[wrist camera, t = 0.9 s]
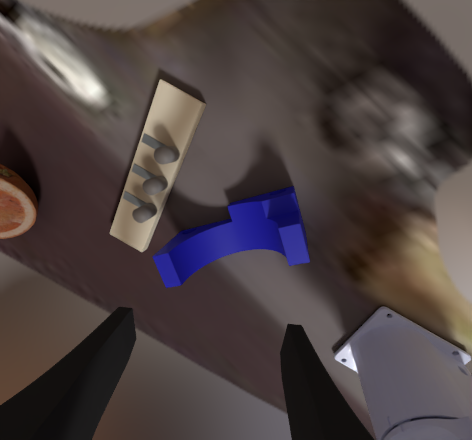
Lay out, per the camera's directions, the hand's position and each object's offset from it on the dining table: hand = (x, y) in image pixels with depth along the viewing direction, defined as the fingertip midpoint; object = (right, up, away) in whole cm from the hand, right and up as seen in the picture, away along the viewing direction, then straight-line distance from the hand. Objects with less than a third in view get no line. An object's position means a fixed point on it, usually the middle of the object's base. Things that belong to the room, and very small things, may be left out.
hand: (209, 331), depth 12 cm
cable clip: (+2, +5, +13) cm, 14 cm away
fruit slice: (-22, +8, +17) cm, 29 cm away
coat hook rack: (-7, +10, +13) cm, 17 cm away
